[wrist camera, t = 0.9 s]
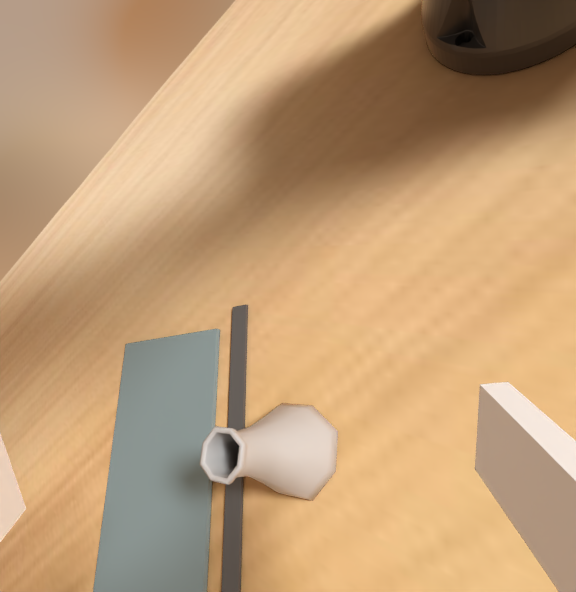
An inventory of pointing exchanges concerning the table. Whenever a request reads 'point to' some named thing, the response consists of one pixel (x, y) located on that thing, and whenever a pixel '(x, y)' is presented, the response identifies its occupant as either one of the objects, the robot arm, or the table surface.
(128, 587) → the mat
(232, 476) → the flask
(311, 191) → the table surface
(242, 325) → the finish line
